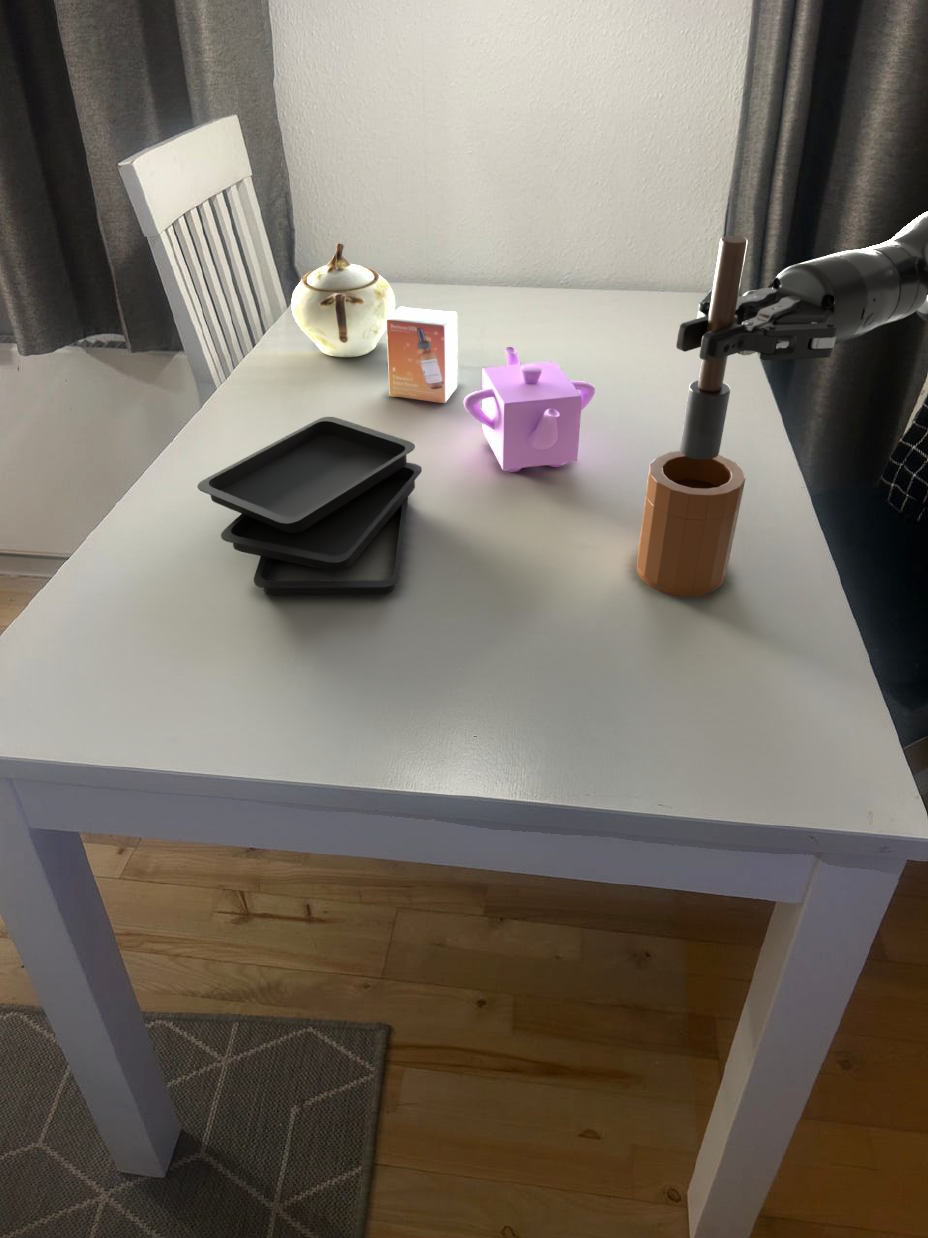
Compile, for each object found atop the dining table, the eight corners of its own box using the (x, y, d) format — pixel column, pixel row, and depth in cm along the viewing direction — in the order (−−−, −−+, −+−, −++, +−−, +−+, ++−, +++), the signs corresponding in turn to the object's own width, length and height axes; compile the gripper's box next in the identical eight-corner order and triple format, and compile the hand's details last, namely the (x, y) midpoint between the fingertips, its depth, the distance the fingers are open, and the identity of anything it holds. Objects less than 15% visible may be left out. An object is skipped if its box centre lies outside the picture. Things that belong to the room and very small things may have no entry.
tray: (449, 595, 86) (448, 548, 83) (197, 622, 83) (186, 575, 80) (410, 450, 110) (408, 410, 106) (212, 467, 107) (204, 426, 103)
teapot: (442, 459, 108) (440, 370, 101) (506, 419, 116) (509, 335, 110) (551, 498, 100) (557, 405, 94) (612, 452, 109) (621, 364, 102)
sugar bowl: (399, 371, 129) (393, 261, 120) (292, 375, 128) (278, 265, 119) (395, 322, 144) (390, 221, 135) (300, 325, 143) (288, 225, 134)
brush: (708, 440, 82) (743, 231, 71) (725, 457, 80) (765, 243, 69) (673, 444, 82) (703, 234, 71) (690, 462, 79) (724, 247, 68)
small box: (388, 397, 122) (384, 319, 115) (403, 381, 126) (399, 304, 119) (446, 404, 120) (444, 325, 113) (458, 387, 124) (457, 310, 118)
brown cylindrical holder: (700, 543, 93) (717, 445, 86) (740, 590, 86) (762, 487, 80) (623, 555, 91) (635, 456, 85) (657, 603, 85) (673, 500, 78)
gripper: (779, 237, 83) (637, 273, 75) (913, 276, 74) (768, 321, 66) (763, 319, 87) (628, 361, 80) (888, 365, 78) (749, 417, 71)
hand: (692, 343), depth 73 cm, fingers closed on brush, 2 cm apart
